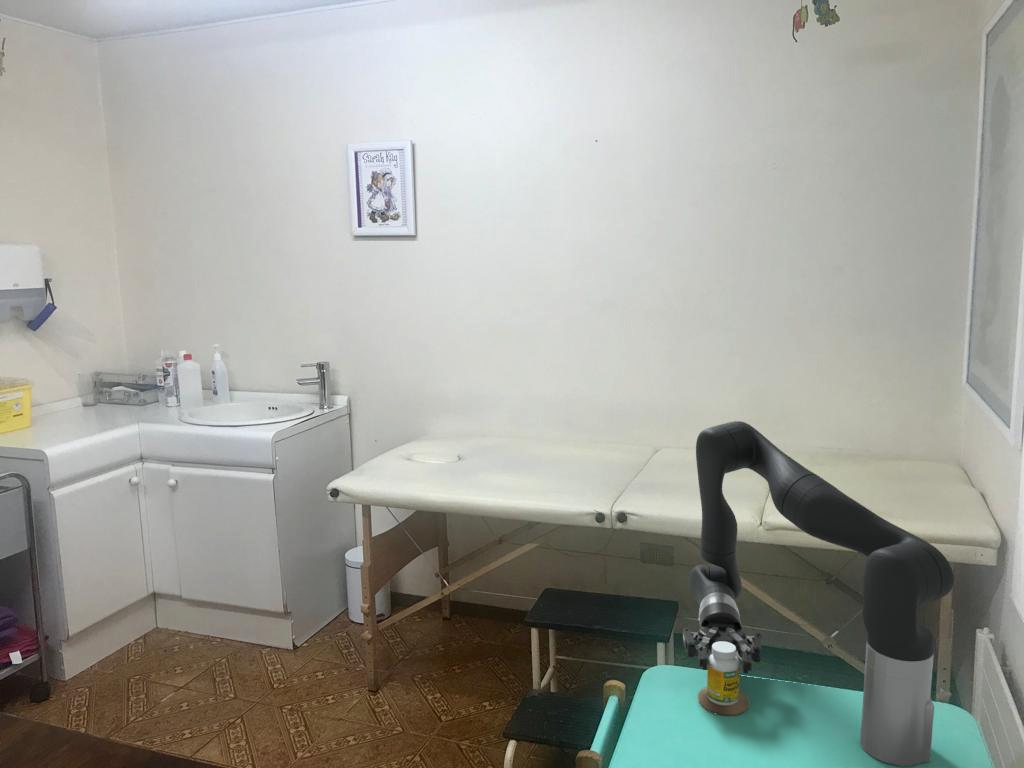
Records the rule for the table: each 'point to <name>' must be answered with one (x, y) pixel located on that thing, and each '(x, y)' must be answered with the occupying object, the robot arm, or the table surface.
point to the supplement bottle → (723, 674)
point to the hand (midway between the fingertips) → (725, 666)
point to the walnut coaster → (729, 710)
